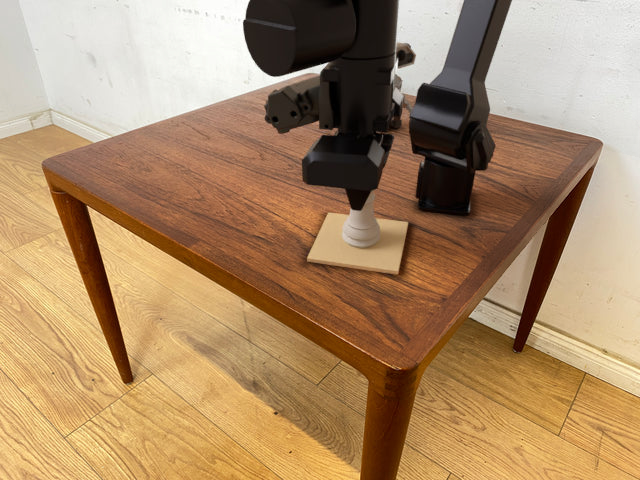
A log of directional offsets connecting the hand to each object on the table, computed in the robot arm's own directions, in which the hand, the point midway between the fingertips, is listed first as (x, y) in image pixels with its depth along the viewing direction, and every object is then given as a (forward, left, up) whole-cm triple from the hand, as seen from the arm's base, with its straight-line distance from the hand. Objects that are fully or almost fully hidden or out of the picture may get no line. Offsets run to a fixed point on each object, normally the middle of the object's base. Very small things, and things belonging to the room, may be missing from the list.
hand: (356, 208), depth 50 cm
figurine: (+3, -37, -7) cm, 38 cm away
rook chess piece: (0, -3, -6) cm, 7 cm away
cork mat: (0, -3, -6) cm, 7 cm away
